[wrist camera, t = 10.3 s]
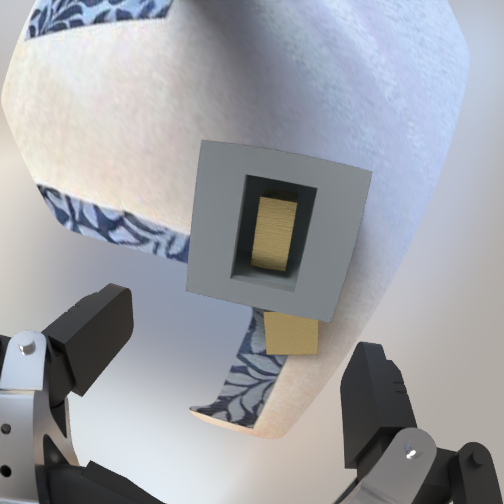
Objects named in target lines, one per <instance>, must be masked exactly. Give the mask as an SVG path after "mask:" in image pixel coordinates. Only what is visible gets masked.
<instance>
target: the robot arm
mask: <svg viewBox="0 0 504 504" xmlns="http://www.w3.org/2000/svg"><path fill="white" fill-rule="evenodd" d="M133 326H134V323H133V309H132V294H131V291H130V289H128V288H125V287H122V286H119V285H115V284H112V283H110V284H108V285H107V286H106V287H104V288H103V289H102V290H100V291H99V292H98V293H97V292H96V293H93V294H91V295H88V296H86V297H84V298H82V299H81V300H80V301H79V302H77V303H76V304H75V306H72V307H71V308H70V309H69V310H68V312H65V313H64V314H62V315H61V316H60V317H59V318H58V319H56V320H55V321H54V322H53V323H52V324H50V325H49V326H48V327H47V328H46V329H45V330H43V331H42V332H41V333H40V332H38V331H34V330H26V331H22V332H19V333H17V334H16V335H15V336H13V337H12V338H11V337H7V336H3V335H0V504H165V503H163V502H161V501H160V500H158V499H157V498H155V497H153V496H151V495H150V494H149V493H147V492H146V491H144V490H143V489H141V488H140V487H138V486H137V485H135V484H134V483H133V482H131V481H130V480H129V479H127V478H125V477H123V476H121V475H119V474H117V473H115V472H113V471H111V470H108V469H106V468H104V467H103V466H101V465H99V464H96V463H95V462H93V461H91V460H90V462H89V463H88V465H87V466H86V467H82V466H79V462H78V459H77V456H76V454H75V451H74V448H73V445H72V438H71V429H70V419H69V404H68V398H67V395H68V394H69V393H70V391H72V392H74V393H76V394H78V395H79V396H81V397H82V396H83V395H84V394H85V393H86V392H87V390H88V389H89V388H90V387H91V385H92V384H93V383H94V382H95V380H96V379H97V378H98V377H99V375H100V374H101V373H102V372H103V370H104V369H105V368H106V367H107V366H108V364H109V363H110V362H111V361H112V359H113V358H114V357H115V356H116V354H117V353H118V352H119V351H120V350H121V348H122V347H123V346H124V345H125V344H126V343H127V341H128V340H129V339H130V337H131V335H132V332H133ZM340 393H341V406H342V419H343V435H344V458H345V468H347V469H348V468H349V469H357V477H355V478H354V480H353V481H352V482H351V483H350V484H349V485H348V486H347V488H346V489H345V490H344V491H343V492H342V493H341V494H340V495H339V496H338V498H337V499H336V500H335V501H334V502H333V503H332V504H449V503H451V502H452V501H453V504H503V502H502V497H501V492H500V488H499V483H498V479H497V475H496V471H495V468H494V464H493V460H492V457H491V454H490V452H489V451H488V449H487V448H486V447H485V446H483V445H482V444H480V443H477V442H470V443H467V444H465V445H464V446H463V447H462V448H461V449H460V450H459V451H458V452H455V451H450V450H446V449H441V448H437V447H436V444H435V442H434V440H433V439H432V437H431V436H430V435H429V434H428V433H427V432H425V431H423V430H421V429H418V428H417V424H416V420H415V417H414V414H413V410H412V407H411V403H410V400H409V396H408V394H407V390H406V387H405V385H404V381H403V378H402V374H401V371H400V370H399V369H398V367H397V366H396V365H395V364H394V363H393V361H392V360H386V357H385V354H384V350H383V347H382V345H381V344H375V343H368V342H359V343H358V344H357V346H356V348H355V350H354V353H353V355H352V357H351V359H350V361H349V363H348V366H347V368H346V370H345V372H344V374H343V377H342V380H341V386H340Z"/></svg>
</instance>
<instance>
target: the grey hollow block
mask: <svg viewBox="0 0 504 504" xmlns="http://www.w3.org/2000/svg"><path fill="white" fill-rule="evenodd" d="M371 176H372V171H368V170H364V169H361V168H357V167H353V166H349V165H345V164H340V163H336V162H332V161H328V160H323V159H318V158H314V157H309V156H304V155H299V154H294V153H289V152H283V151H278V150H272V149H266V148H260V147H253V146H247V145H240V144H233V143H225V142H217V141H208V140H202V141H201V148H200V155H199V162H198V170H197V178H196V186H195V195H194V204H193V213H192V223H191V234H190V245H189V257H188V270H187V285H186V286H187V287H186V291H188V292H192V293H196V294H200V295H204V296H208V297H212V298H216V299H221V300H225V301H229V302H234V303H238V304H243V305H247V306H251V307H256V308H260V309H265V310H269V311H274V312H279V313H284V314H289V315H293V316H298V317H304V318H309V319H314V320H319V321H325V322H330V323H331V321H332V318H333V315H334V312H335V309H336V306H337V303H338V300H339V297H340V294H341V291H342V287H343V284H344V281H345V278H346V274H347V271H348V268H349V264H350V261H351V257H352V254H353V250H354V247H355V243H356V239H357V236H358V232H359V228H360V224H361V220H362V216H363V212H364V208H365V203H366V199H367V195H368V190H369V186H370V181H371ZM268 188H271V189H277V190H283V191H289V192H295V193H298V200H297V208H296V213H295V219H294V225H293V231H292V236H291V242H290V247H289V253H288V258H287V263H286V269H285V272H284V271H278V270H273V269H267V268H262V267H257V266H251V259H252V252H253V245H254V238H255V230H256V223H257V216H258V209H259V202H260V196H261V195H262V194H263V193H264V192H265V191H266V190H267V189H268Z"/></svg>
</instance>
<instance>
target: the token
mask: <svg viewBox="0 0 504 504" xmlns="http://www.w3.org/2000/svg"><path fill="white" fill-rule="evenodd" d="M318 322H319V320H314V319H309V318H304V317H298V316H293V315H289V314H284V313H279V312H274V311H269V310H265V309H264V324H265V337H266V350H267V354H273V355H309V354H317V349H318Z"/></svg>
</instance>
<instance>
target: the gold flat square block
mask: <svg viewBox="0 0 504 504" xmlns="http://www.w3.org/2000/svg"><path fill="white" fill-rule="evenodd" d="M297 200H298V193H295V192H289V191H283V190H277V189H271V188H268V189H267V190H266V191H265V192H264V193H263V194H262V195H261V196H260V202H259V209H258V216H257V223H256V230H255V238H254V245H253V252H252V259H251V266H257V267H262V268H267V269H273V270H278V271H284V272H285V269H286V263H287V258H288V253H289V247H290V242H291V236H292V231H293V225H294V219H295V213H296V208H297Z"/></svg>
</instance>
